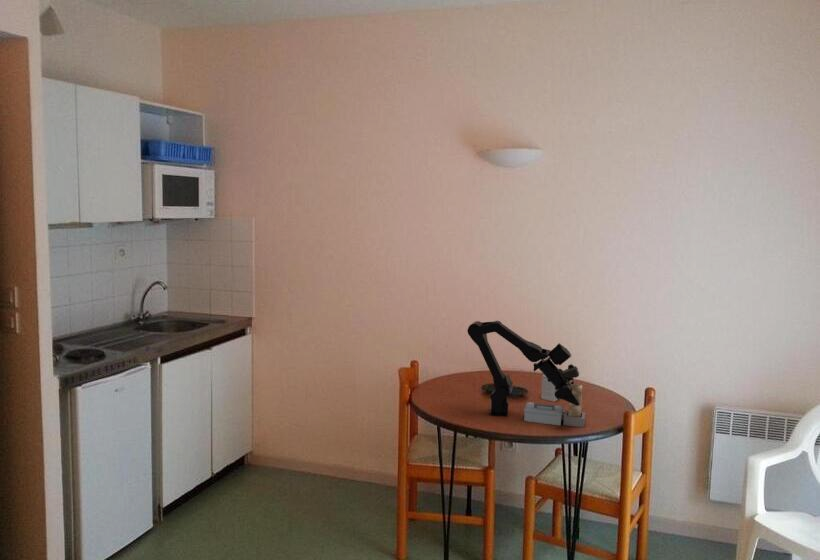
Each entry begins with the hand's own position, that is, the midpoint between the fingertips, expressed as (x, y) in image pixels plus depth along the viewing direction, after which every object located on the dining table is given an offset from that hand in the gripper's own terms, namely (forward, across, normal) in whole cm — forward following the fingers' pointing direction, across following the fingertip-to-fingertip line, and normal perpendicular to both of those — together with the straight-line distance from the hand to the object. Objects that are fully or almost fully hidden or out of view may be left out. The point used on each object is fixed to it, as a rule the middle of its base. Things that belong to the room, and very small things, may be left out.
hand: (579, 402), depth 256 cm
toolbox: (0, 0, +12) cm, 12 cm away
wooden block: (+5, 0, +7) cm, 9 cm away
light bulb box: (-3, +30, +15) cm, 34 cm away
